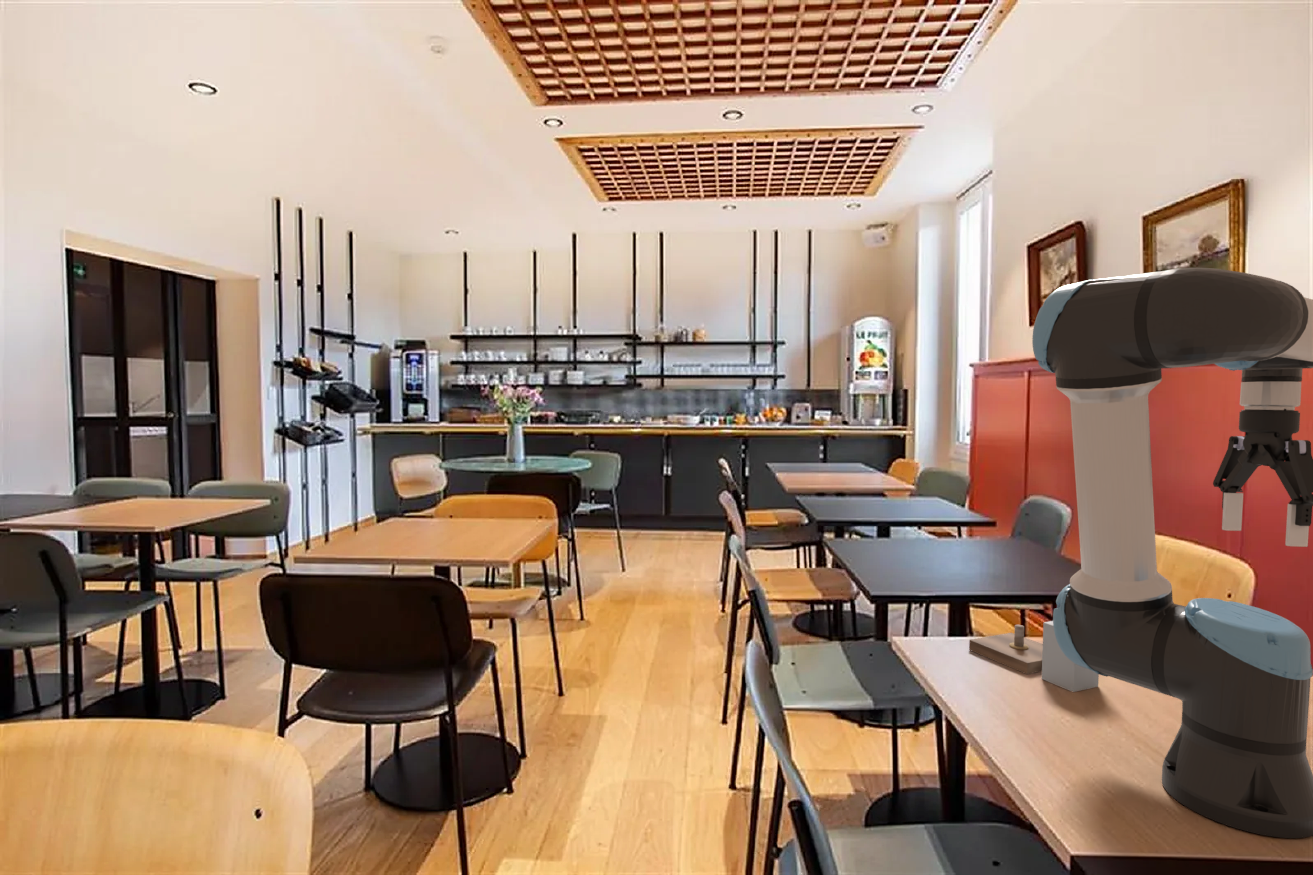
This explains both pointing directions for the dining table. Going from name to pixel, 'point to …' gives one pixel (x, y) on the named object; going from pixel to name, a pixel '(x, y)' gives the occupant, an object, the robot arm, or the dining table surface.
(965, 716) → the dining table surface
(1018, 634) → the wooden peg base
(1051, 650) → the light grey hollow box
